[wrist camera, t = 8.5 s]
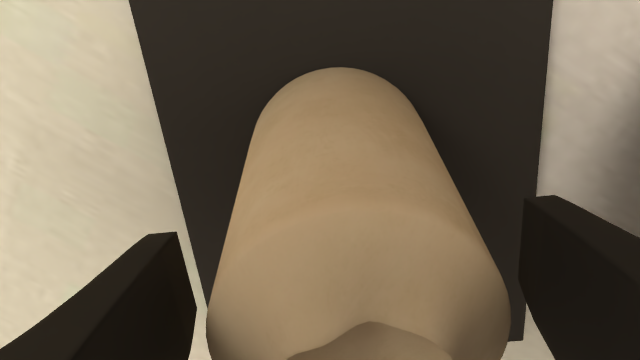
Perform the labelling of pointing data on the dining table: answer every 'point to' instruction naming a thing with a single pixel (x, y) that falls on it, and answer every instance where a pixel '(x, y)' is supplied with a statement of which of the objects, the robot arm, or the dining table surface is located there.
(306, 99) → the candle
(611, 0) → the dining table surface
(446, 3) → the mat
